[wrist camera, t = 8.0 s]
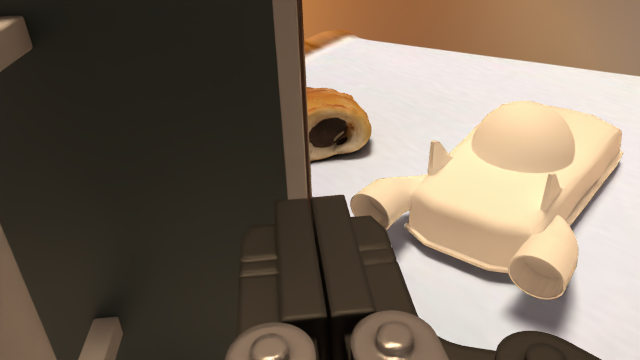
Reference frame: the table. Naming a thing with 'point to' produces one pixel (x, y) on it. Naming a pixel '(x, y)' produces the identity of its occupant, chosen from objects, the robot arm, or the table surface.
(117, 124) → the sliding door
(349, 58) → the table surface
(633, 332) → the table surface
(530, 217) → the plane toy
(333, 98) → the pastry
